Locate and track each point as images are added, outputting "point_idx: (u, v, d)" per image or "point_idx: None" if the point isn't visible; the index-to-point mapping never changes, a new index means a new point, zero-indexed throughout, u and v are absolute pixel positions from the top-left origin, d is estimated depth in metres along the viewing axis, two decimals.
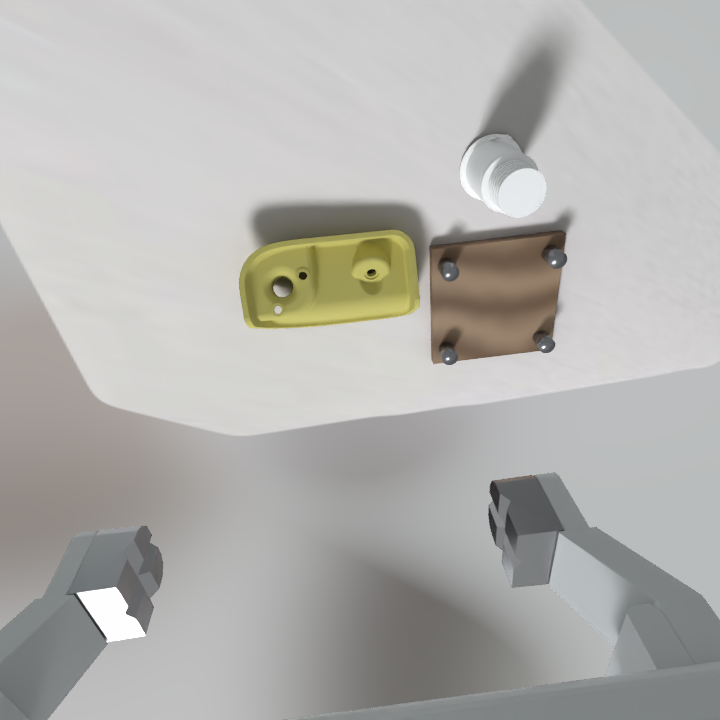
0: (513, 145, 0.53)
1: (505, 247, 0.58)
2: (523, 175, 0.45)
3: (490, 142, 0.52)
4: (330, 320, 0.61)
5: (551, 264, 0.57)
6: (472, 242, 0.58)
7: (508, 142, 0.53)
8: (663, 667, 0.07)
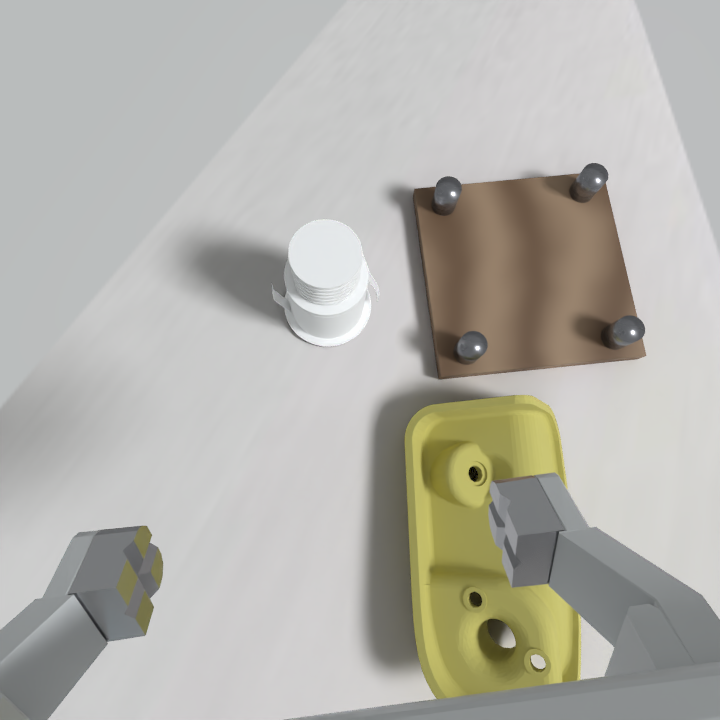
0: None
1: (435, 267, 0.39)
2: (298, 255, 0.30)
3: None
4: None
5: (455, 196, 0.38)
6: (430, 316, 0.39)
7: None
8: (663, 667, 0.07)
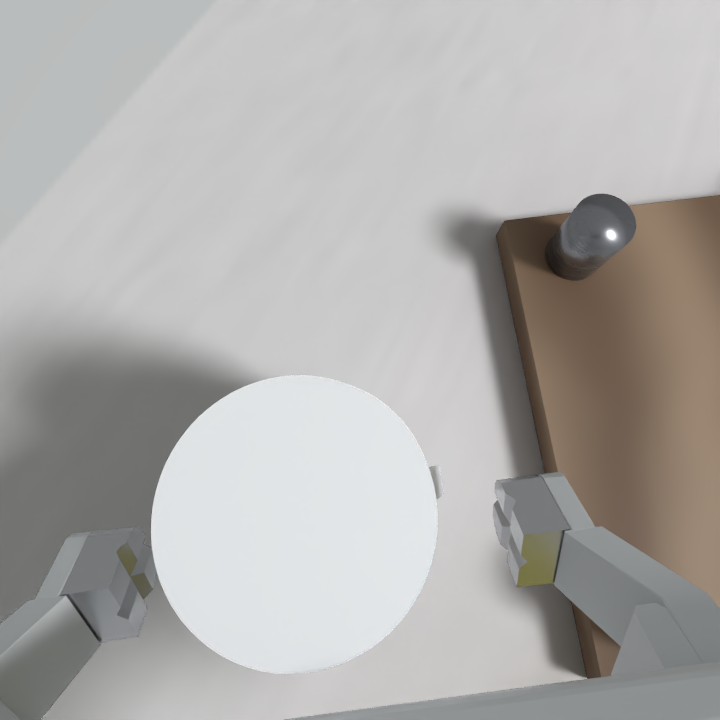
0: None
1: (567, 405, 0.17)
2: (191, 531, 0.08)
3: None
4: None
5: (622, 242, 0.16)
6: None
7: None
8: (671, 666, 0.07)
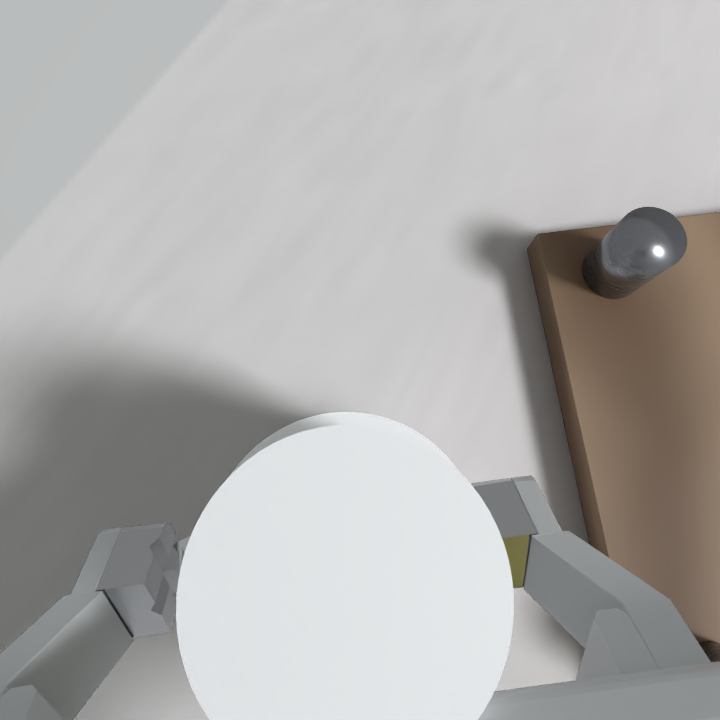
0: None
1: (608, 435, 0.16)
2: (223, 612, 0.07)
3: None
4: None
5: (671, 260, 0.14)
6: None
7: None
8: (627, 672, 0.07)
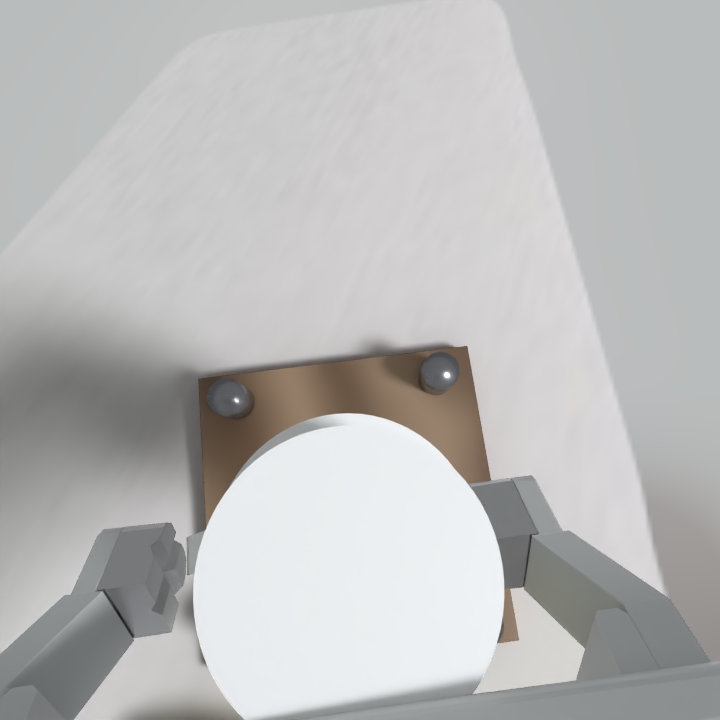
0: None
1: None
2: (236, 598, 0.07)
3: None
4: None
5: (233, 410, 0.26)
6: None
7: None
8: (627, 672, 0.07)
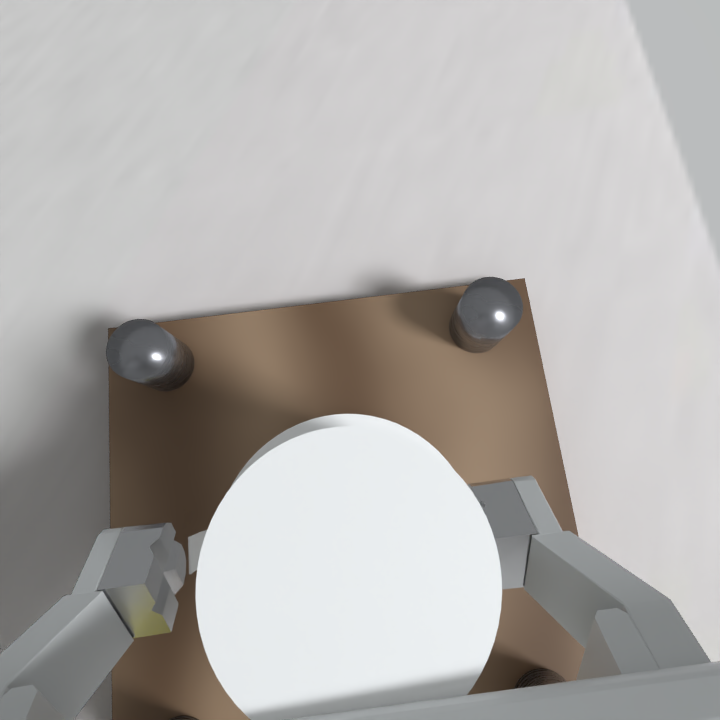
0: None
1: (133, 521, 0.17)
2: (238, 596, 0.07)
3: None
4: None
5: (149, 370, 0.16)
6: None
7: None
8: (627, 672, 0.07)
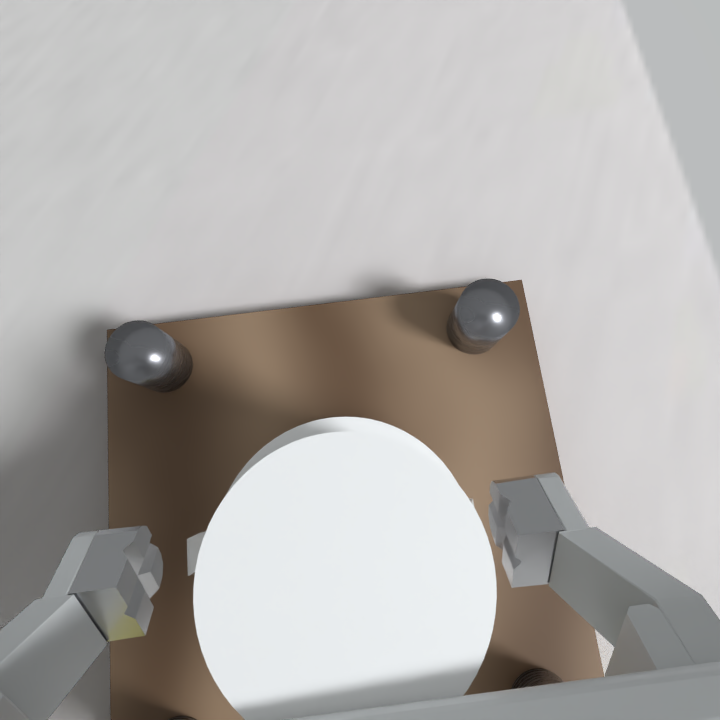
0: None
1: (132, 522, 0.17)
2: (235, 600, 0.07)
3: None
4: None
5: (147, 372, 0.16)
6: None
7: None
8: (663, 667, 0.07)
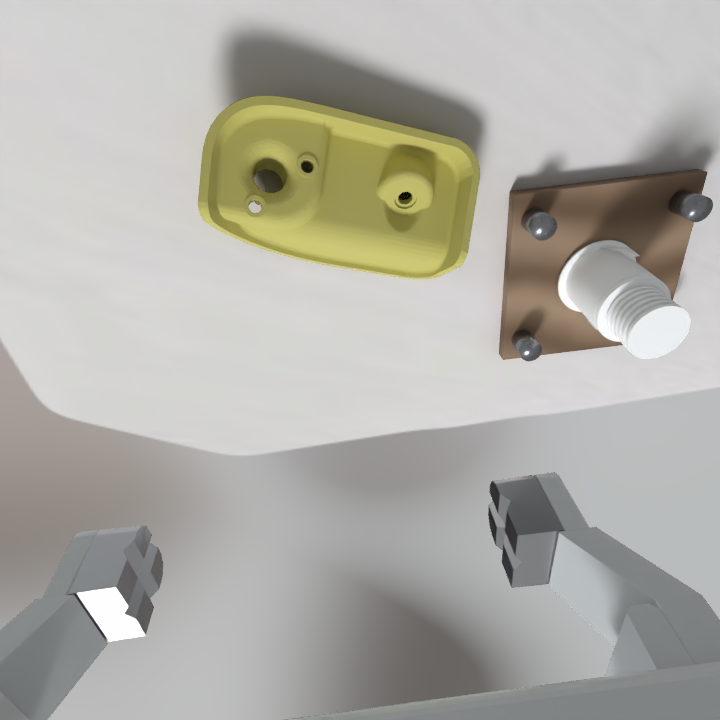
0: None
1: (619, 192, 0.41)
2: (664, 313, 0.35)
3: (601, 251, 0.42)
4: (322, 256, 0.41)
5: (689, 215, 0.39)
6: (572, 185, 0.41)
7: None
8: (663, 667, 0.07)
